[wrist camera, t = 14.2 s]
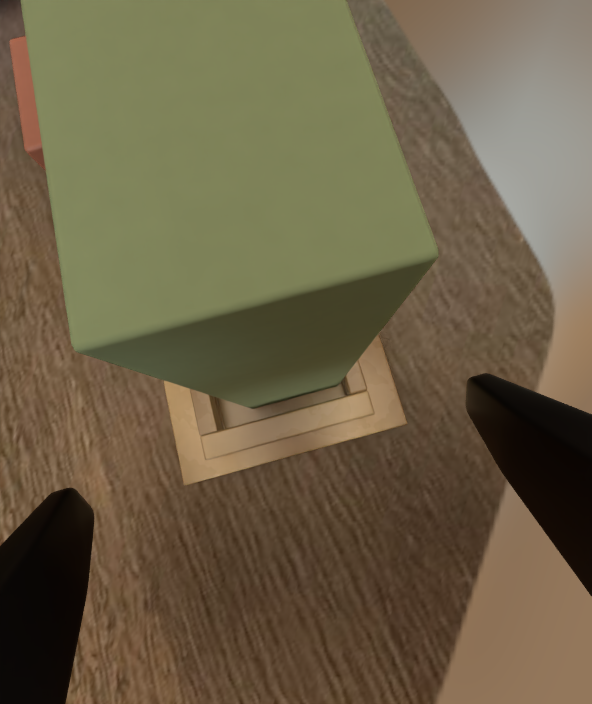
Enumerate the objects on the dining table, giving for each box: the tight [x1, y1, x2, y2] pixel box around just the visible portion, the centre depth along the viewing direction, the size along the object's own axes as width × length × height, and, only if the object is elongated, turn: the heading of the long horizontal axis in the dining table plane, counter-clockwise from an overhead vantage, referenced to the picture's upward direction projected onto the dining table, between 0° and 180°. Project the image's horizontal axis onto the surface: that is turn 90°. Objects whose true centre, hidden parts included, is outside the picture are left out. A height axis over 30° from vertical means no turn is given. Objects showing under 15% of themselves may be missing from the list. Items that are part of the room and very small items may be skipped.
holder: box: [9, 36, 407, 485], centre depth 14 cm, size 10×18×11 cm, turn 15°
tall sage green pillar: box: [21, 0, 438, 409], centre depth 11 cm, size 4×6×13 cm
